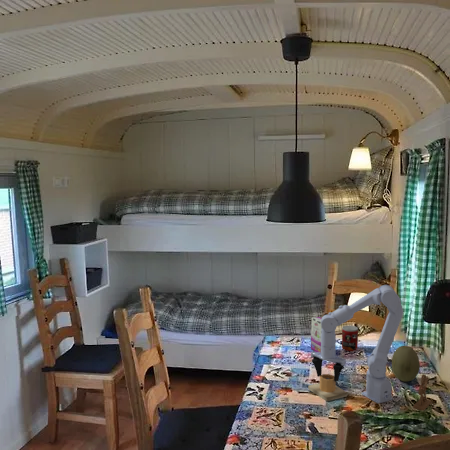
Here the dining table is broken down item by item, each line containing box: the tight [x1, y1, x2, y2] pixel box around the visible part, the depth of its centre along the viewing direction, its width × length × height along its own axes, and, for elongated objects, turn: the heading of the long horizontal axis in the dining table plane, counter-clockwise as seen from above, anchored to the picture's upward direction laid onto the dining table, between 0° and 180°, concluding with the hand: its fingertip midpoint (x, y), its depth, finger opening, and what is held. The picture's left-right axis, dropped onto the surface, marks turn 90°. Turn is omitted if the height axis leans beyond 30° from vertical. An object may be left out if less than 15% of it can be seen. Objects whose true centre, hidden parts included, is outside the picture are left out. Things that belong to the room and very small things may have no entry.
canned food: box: [341, 325, 359, 353], centre depth 241 cm, size 8×8×11 cm
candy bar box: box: [310, 316, 322, 352], centre depth 237 cm, size 11×5×16 cm, turn 17°
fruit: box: [391, 345, 421, 383], centre depth 204 cm, size 11×11×15 cm
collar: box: [319, 373, 337, 392], centre depth 193 cm, size 6×6×5 cm
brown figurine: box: [412, 374, 433, 412], centre depth 181 cm, size 9×4×12 cm, turn 138°
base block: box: [307, 382, 348, 402], centre depth 193 cm, size 12×10×2 cm
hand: (327, 378), depth 192 cm, fingers open, 7 cm apart
